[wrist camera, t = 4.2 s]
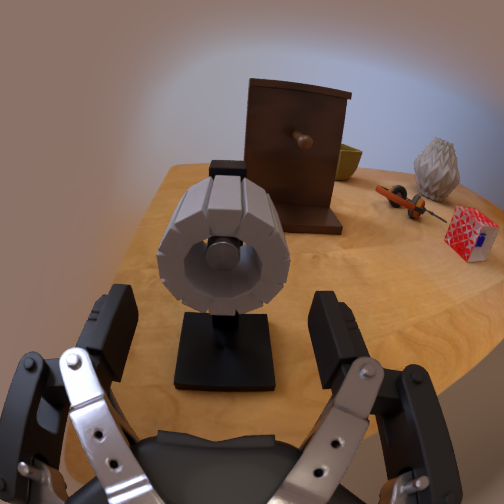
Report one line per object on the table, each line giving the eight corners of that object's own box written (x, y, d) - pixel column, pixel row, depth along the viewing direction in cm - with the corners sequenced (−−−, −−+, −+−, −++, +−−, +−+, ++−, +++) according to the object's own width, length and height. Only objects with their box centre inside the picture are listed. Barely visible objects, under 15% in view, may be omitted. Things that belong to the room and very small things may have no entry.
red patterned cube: (463, 240, 46) (475, 208, 42) (485, 260, 40) (500, 227, 35) (443, 240, 45) (456, 205, 41) (466, 262, 39) (482, 225, 34)
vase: (416, 184, 79) (428, 133, 69) (456, 203, 68) (470, 151, 58) (399, 188, 70) (412, 129, 60) (446, 211, 60) (463, 149, 49)
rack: (242, 230, 41) (252, 75, 29) (241, 204, 50) (249, 79, 37) (341, 235, 43) (368, 94, 30) (324, 208, 51) (342, 92, 38)
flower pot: (357, 182, 69) (363, 151, 64) (336, 184, 65) (342, 150, 60) (335, 171, 75) (340, 142, 70) (313, 173, 71) (318, 141, 66)
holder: (175, 388, 19) (131, 208, 11) (185, 317, 26) (171, 159, 18) (274, 391, 20) (317, 213, 11) (265, 319, 27) (286, 163, 18)
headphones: (454, 213, 52) (425, 200, 41) (445, 233, 54) (414, 226, 44) (405, 186, 64) (363, 169, 54) (398, 203, 66) (355, 190, 56)
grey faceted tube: (165, 312, 15) (150, 207, 11) (178, 263, 19) (172, 174, 15) (279, 316, 16) (299, 213, 12) (270, 267, 20) (283, 178, 16)
